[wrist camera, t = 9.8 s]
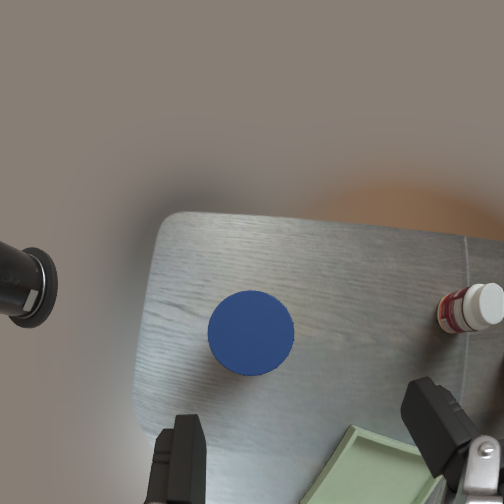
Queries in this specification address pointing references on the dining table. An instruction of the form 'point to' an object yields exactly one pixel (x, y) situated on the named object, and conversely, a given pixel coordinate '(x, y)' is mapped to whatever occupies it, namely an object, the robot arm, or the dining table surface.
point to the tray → (372, 472)
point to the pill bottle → (471, 308)
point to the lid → (250, 333)
